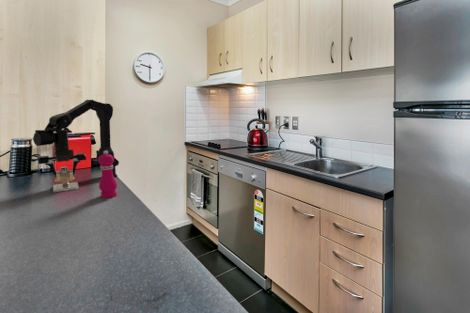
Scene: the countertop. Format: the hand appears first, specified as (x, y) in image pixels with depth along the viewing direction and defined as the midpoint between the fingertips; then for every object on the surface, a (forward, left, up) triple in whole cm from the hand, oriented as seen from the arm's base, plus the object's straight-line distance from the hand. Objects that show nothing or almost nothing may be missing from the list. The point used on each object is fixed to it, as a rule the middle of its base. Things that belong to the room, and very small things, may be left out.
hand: (64, 176), depth 131 cm
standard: (0, 0, -6) cm, 6 cm away
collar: (0, 0, -1) cm, 1 cm away
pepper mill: (+23, +15, -6) cm, 28 cm away
